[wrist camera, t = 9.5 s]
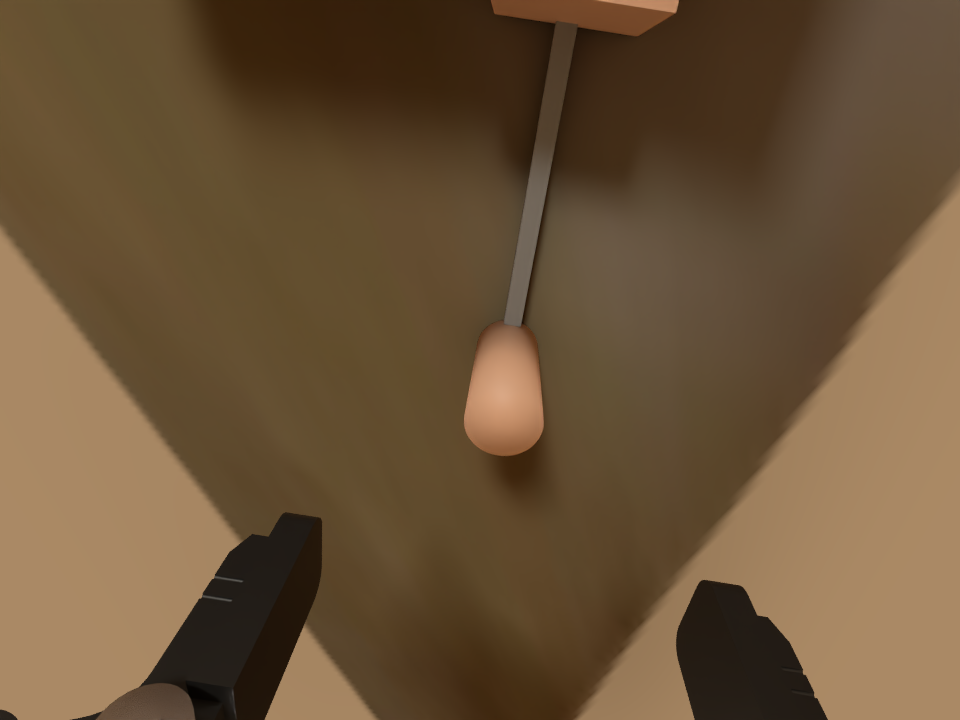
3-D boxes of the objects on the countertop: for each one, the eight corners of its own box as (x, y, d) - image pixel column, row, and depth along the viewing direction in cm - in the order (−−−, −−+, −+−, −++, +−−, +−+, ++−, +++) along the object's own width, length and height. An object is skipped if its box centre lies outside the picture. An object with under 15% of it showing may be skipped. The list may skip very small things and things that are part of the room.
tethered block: (519, -179, 16) (519, -333, 10) (681, -153, 16) (768, -293, 10) (448, 366, 23) (427, 444, 18) (556, 383, 23) (567, 466, 18)
